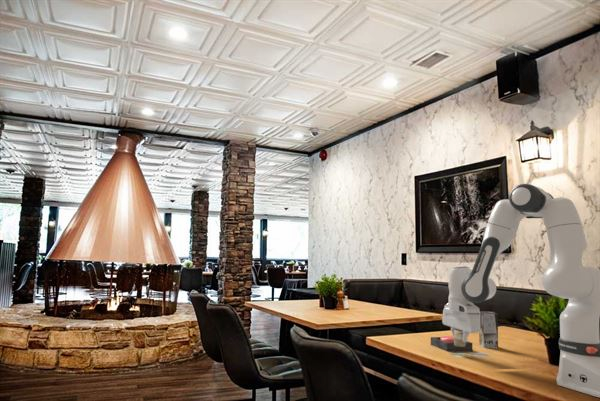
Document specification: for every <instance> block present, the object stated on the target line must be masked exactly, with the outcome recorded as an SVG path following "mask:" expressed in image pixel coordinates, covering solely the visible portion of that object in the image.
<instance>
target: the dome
mask: <svg viewBox="0 0 600 401" xmlns="http://www.w3.org/2000/svg"><path fill="white" fill-rule="evenodd" d="M439 337H440V340H441V341H444V342H447V343H454V338H453V336H449V335H448V336H447V335H445V336H439Z"/></svg>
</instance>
